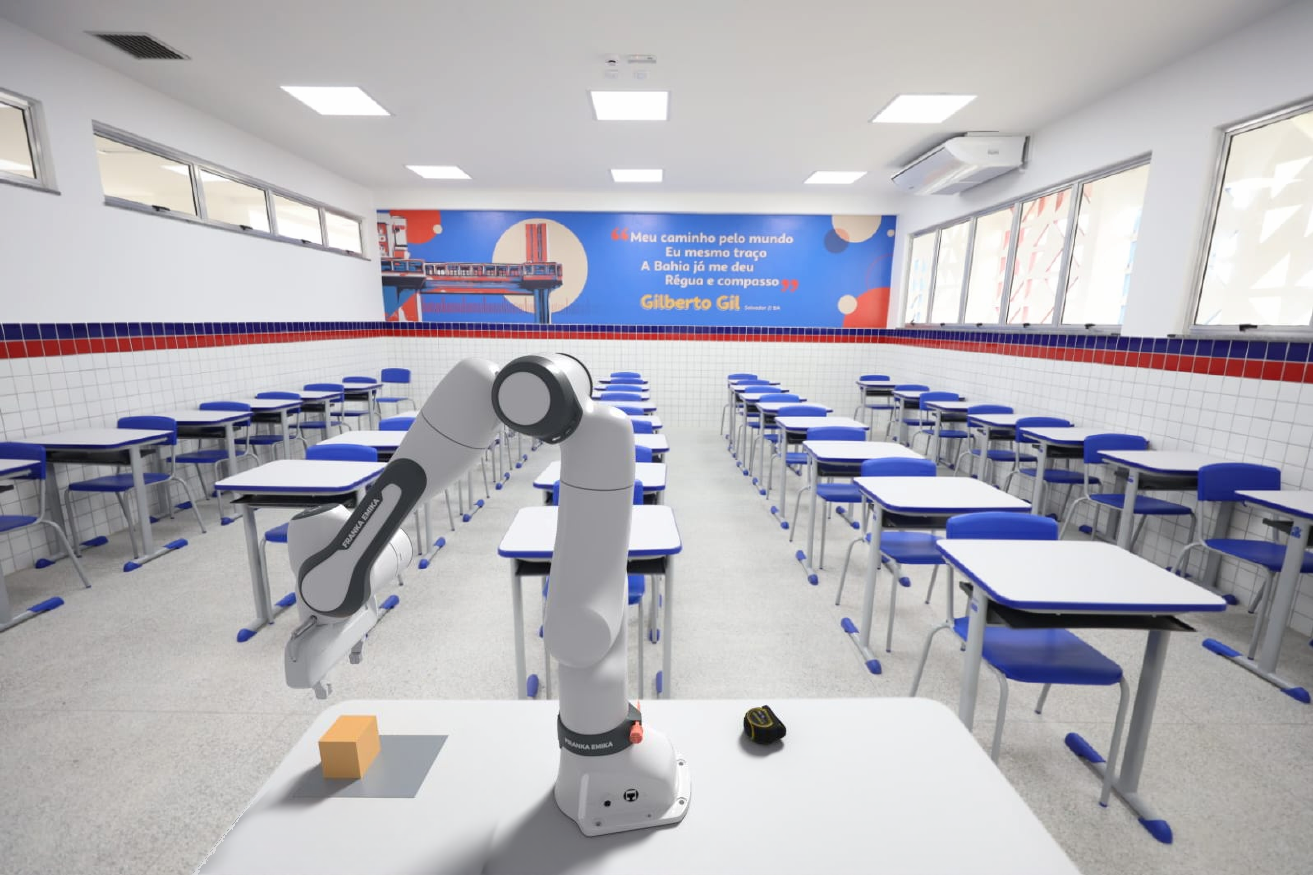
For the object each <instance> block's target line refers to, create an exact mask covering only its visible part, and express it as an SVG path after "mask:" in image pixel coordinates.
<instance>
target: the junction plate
mask: <svg viewBox="0 0 1313 875" xmlns="http://www.w3.org/2000/svg"><path fill="white" fill-rule="evenodd" d="M448 737H449V734H379V741H380V748H381V750H380V752H379V753H378V755H377V756H376V758H375V759H374V760H373V762H372V763H371V765H370V766H369V768H368V769H367V771H366V772H365V773H364V775H363V776H362V778H324V776H323V770H322V764H321V761H320V762H319V763H318V765H317V766H316V767H315V768H314V769H313V770H312V771H311V773H310V774H309V776H308V777H307V778H306V779H305V780H304V781H303V783H302V784H301V786H300V787H299V788H298V789H297V790H296V791H295V793H294V794H293V795H292V798H389V799H390V798H395V799H396V798H398V799H399V798H402V799H403V798H405V799H407V798H408V799H409V798H416V795H417V793H418V792H419V791H420V789H421V786H422V785H423V782H424V781H425V779H426V777H427V776H428V774H429V772H430V770H431V768H432V766H433V764H434V763H435V761H436V759H437V757H438V756H439V754H440V752H441V750H443V746H444V745H445V743H446V741H447V740H448Z"/></svg>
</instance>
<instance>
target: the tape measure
mask: <svg viewBox="0 0 1313 875" xmlns="http://www.w3.org/2000/svg"><path fill="white" fill-rule="evenodd" d="M742 723H743V724H742V725H743V730H744V733H745V734H746V736H747V737H748V738H750V739H751V741H753V742H756V743H758V744H762V745H763V744H766V745H768V744H772V743H775V741H778V740H782V739H783V738H785V737H786V736H787V727H786V726H785V724H784V723H783V722H782V720H780V719H779V717H778V716H777V715H776V714H775V712H774V711H773V710H772V708H771V707H770V706H769V705H767V704H766V705H762V706H761V707H759V706H758V707H757V706H756V707H751V708H750V709H748V711H747V712H746V713H745V714H744V717H743V722H742Z"/></svg>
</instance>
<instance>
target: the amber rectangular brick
mask: <svg viewBox="0 0 1313 875" xmlns="http://www.w3.org/2000/svg"><path fill="white" fill-rule="evenodd" d="M339 715H340V716H339V717H338V718H336V720H335V721H334V722H333V723H332V725H331V726H330V727H329V728H328V729H327V730H326V732H325V733H324V734H323V735H322V736H321V737H320V739H318V741H317V743H318V751H319V755H320V762H321V764H322V770H323V776H324V778H362V776H363V775H364V773H365V772H366V771H367V769H368V768H369V766H370V765H371V763H372V762H373V760H374V759H375V758H376V756H377V755H378V753H379V752H380V750H381V748H380V741H379V735H380V734H379V727H378V720H377V715H367V714H366V715H365V714H364V715H363V714H362V715H360V714H359V715H357V714H355V715H354V714H352V715H351V714H350V715H348V714H342V715H341V714H339Z"/></svg>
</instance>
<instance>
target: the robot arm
mask: <svg viewBox="0 0 1313 875" xmlns="http://www.w3.org/2000/svg"><path fill="white" fill-rule="evenodd" d="M593 383H594V382H593V379H592V375H591V373H590V370H589V369H588V368H587V366H586V365H585V364H584V363H583V362H582V361H581V360H580V359H578V358H577V357H575V356H574V355H571V354H568V353H563V352H552V351H539V352H534V353H532V354H528V355H523V356H520V357H516V358H514V359H513V360H511V361H509V362H508V363H507V364H506V365H504V366H503V367H502V366H501V365H499V364H498V363H496V362H494V361H492V360H489V359H486V358H483V357H477V356H472V357H466V358H464V359H461V360H460V361H459V362H457V363H456V364H455V365H454V367H452V368H451V369H450V370H449V371H448V372H447V373H446V375H445V376H444V377H443V378H442V379H441V381H440V382H439V383H438V384H437V385H436V387H435V388H434V390H433V391H432V392H431V394H430V395H429V396H428V398H427V399H426V401H425V402H424V404H423V405H422V406H421V408H420V410H419V411H418V413H417V415H416V417H415V418H414V420H413V422H412V424H410V427H409V428H408V430H407V432H406V433H405V435H404V436H403V437H402V440H401V442H400V443H399V445H398V447H397V448H396V450H395V452H394V453H393V455H392V456H391V458H390V459H389V461H387V463H386V465H385V466H384V469H383V470H382V472H381V473H380V475H379V476H378V477H377V479H376V480H375V481H374V483H373V484H372V485H371V487H370V488H369V490H367V492H366V494H365V495H364V496H363V498H362V499H361V501H360V502H359V503H358V504H357V506H356V508H354V510H353V512H351V511H350V510H348V509H347V508H346V507H345V506H344V505H343V504H342V503H341V504H340V503H335V502H332V503H331V502H330V503H324V504H320V505H316V506H315V507H311V508H308V509H305V510H303V511H300V512H299V513H297V514H295V515H294V516H292V518H290V519H289V522H288V525H287V531H286V535H287V536H286V537H287V538H286V543H287V553H288V554H287V555H288V560H289V566H290V569H291V572H293V575H294V578H295V587H294V594H295V595H294V596H295V600H296V607H297V612H298V618H299V621H300V622H301V623H302V624H300V625H299V626H298V627H295V629H293V631H292V632H291V636H290V638H289V639H288V641H287V643H286V645H285V648H284V653H283V654H284V657H283V658H284V659H283V660H284V675H285V682H286V685H287V687H289V688H291V689H295V690H296V689H297V690H298V689H299V690H300V689H301V690H302V689H303V690H304V689H307V690H308V689H312V690H314V693H315V698H316V699H317V700H327V699H328V697H330V695H331V694H333V689H332V684H331V683H326V682H325V680H326V679H327V676H326V675H327V673H329V672H330V670H331V669H332V668H333V667H334V666H335V665H336V664H337V663H338V662H339V661H340V660H341V659H342V658H343V657H344V656H345V655H346V654H347V653H348V652H349V651H351V652H350V653H349V654H348V659H349V663H350V664H351V665H359V664H360V663H361V662H362V661H363V660H364V659H365V654H364V649H365V646H366V644H365V643H366V641H367V637H366V636H367V635H366V634H368V632H369V631H371V629H372V628H374V627H375V626H376V625H377V622H378V617H379V609H378V608H379V607H378V601H377V600H378V599H377V593H378V592H380V591H381V590H383V588H385V587H386V586H388V584H389V583H391V582H392V581H393V580H394V579H395V578H397V577H398V576H399V575H401V573H403V572H404V570H406V569H407V568H408V566H410V564H411V561H412V559H413V554H414V550H413V549H414V548H413V544H412V541H411V539H410V537H409V535H408V533H407V532H406V531H405V530H404V529H403V528H402V526H403V525H404V524H405V523H406V522H407V520H408V519H409V518H410V517H411V516H412V515H413V514H414V513H415V512H416V511H418V509H420V508H421V507H423V505H426V503H427V502H429V501H430V500H432V499H433V498H435V497H436V496H437V495H440V493H442V492H444V491H445V490H448V488H450V487H452V486H453V485H454V484H456V483H457V482H459V481H460V480H462V478H464V477H465V476H466V475H467V474H468V473H469V472H470V471H471V470H472V469H473V468H474V467H475V466H476V464H478V463H479V461H480V460H481V459H482V458H483V456H484V455H485V454H486V451H487V450H488V449H489V447H490V446H491V445H492V443H493V442H494V440H495V438H496V436H497V435H498V433H499V432H500V431H501V429H502V428H503V427H504V426H506V427H507V428H509V429H511V430H512V431H515V432H517V433H519V434H522V435H525V436H528V437H532V438H535V439H537V440H539V441H541V442H543V443H546V444H548V445H551V446H553V445H557V444H558V446H559V450H560V470H559V471H560V472H559V485H558V486H559V487H558V488H559V489H558V505H557V521H556V523H557V524H556V533H555V540H554V546H553V551H552V558H551V564H550V571H549V578H548V586H547V594H546V601H545V602H546V603H545V611H544V620H543V629H542V630H543V632H542V637H543V644H544V647H545V649H546V650H547V652H548V653H549V655H550V656H551V657H552V658H553V659H554V660H555V661H557V671H556V672H557V688H558V703H559V705H558V706H559V710H558V714H557V720H556V728H557V729H556V730H557V731H556V732H557V740H558V746H559V749H560V754H559V767H558V771H557V772H558V773H557V776H556V777H557V778H556V780H555V781H556V782H555V784H554V790H553V791H554V792H553V794H554V799H555V802H556V804H557V806H558V808H559V809H560V811H562V813H563V814H565V815H566V816H568V818H570V819H572V820H573V821H575V823H577V825H578V828H579V829H580V831H581V832H582V833H583V834H584V835H585V836H586V837H596V836H601V835H607V834H613V833H619V832H626V831H631V830H632V831H633V830H638V829H644V828H651V827H657V826H658V827H659V826H664V825H669V824H674V823H675V824H676V823H679V822H681V821H682V820H683V819H684V817H685V815H686V814H687V812H688V810H689V808H690V807H689V806H690V802H691V799H692V796H691V795H692V781H691V773H690V768H689V765H688V763H687V761H686V759H685V757H684V756H683V755H682V753H681V752H679V751H677V750H675V748H674V746H673V744H672V742H671V740H670V738H669V737H668V735H667V734H665V733H664V732H663V731H660V730H658V729H657V728H655V727H653V726H651V725H649V724H647V723H646V722H644V721H643V716H642V712H641V704H640V701H639V700H638V701H637V704H636V705H637V706H636V707H635V705H633V704H632V703H631V702H630V701H629V680H628V675H629V674H628V652H629V651H628V649H629V647H628V645H629V578H628V572H627V565H628V555H629V547H630V540H631V533H632V531H631V530H632V518H633V510H634V509H633V508H634V497H635V496H634V493H635V484H636V483H635V480H636V464H637V463H636V461H637V460H636V459H637V458H636V457H637V456H636V443H635V432H634V425H633V422H632V420H631V417H629V415H628V414H627V413H626V412H625V411H623V410H621V409H620V408H619V407H615V406H613V405H609V404H606V403H605V404H604V403H603V404H602V403H597V402H596V401H595V400H592V396H593V392H594V384H593Z"/></svg>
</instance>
